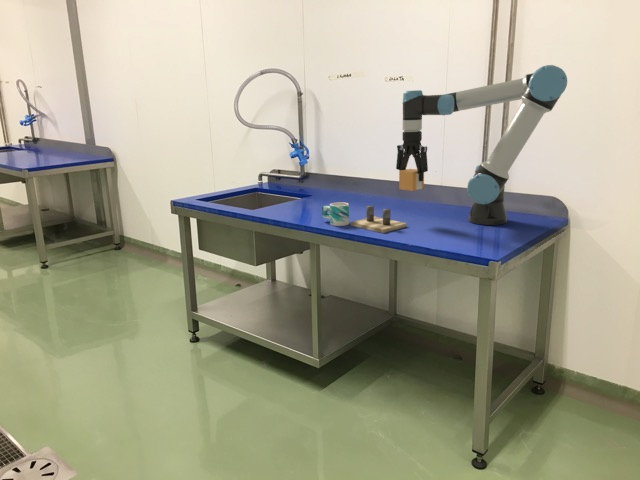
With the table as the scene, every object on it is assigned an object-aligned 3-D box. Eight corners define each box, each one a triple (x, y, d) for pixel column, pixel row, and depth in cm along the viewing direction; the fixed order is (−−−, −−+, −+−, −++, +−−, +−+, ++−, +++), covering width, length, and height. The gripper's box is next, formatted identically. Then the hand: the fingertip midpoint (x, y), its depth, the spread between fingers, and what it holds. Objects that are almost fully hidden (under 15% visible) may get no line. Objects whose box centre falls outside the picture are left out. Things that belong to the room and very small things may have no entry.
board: (406, 226, 215) (406, 208, 213) (382, 233, 207) (383, 214, 205) (374, 219, 228) (374, 202, 226) (350, 225, 220) (350, 207, 218)
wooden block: (423, 188, 217) (424, 170, 215) (412, 190, 213) (412, 172, 211) (410, 186, 222) (410, 168, 220) (399, 189, 218) (399, 170, 216)
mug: (341, 226, 218) (341, 206, 216) (318, 223, 225) (317, 203, 223) (352, 222, 225) (352, 203, 222) (329, 219, 232) (329, 200, 229)
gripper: (438, 130, 206) (437, 189, 212) (399, 129, 221) (398, 184, 227) (426, 132, 202) (425, 192, 208) (386, 130, 216) (386, 186, 222)
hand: (411, 188), depth 217 cm, fingers closed on wooden block, 7 cm apart
